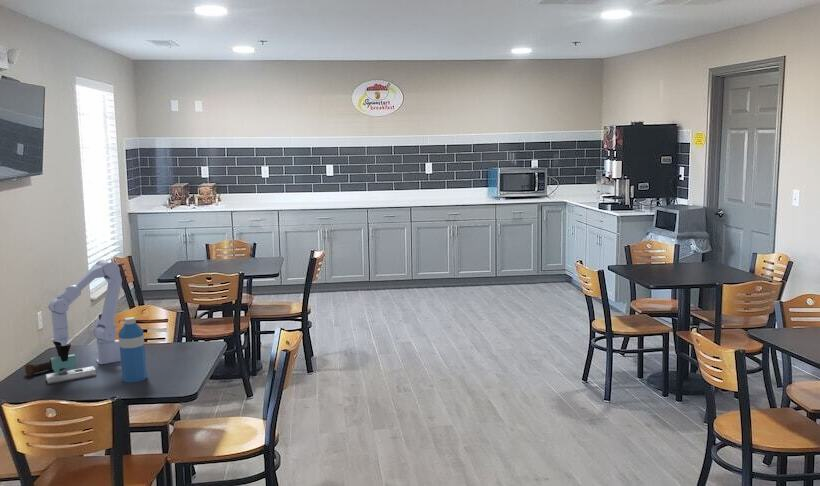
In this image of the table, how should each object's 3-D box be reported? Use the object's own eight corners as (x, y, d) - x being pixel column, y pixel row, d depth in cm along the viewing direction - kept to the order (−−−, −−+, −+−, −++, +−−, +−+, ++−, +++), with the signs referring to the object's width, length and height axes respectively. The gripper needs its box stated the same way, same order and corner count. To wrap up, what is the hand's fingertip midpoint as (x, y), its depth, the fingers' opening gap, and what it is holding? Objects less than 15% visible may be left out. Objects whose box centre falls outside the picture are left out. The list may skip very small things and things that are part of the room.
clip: (75, 369, 325) (74, 354, 324) (76, 370, 323) (75, 355, 322) (52, 373, 320) (51, 358, 320) (53, 374, 318) (51, 359, 317)
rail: (93, 371, 320) (93, 366, 320) (96, 375, 315) (95, 369, 315) (46, 380, 311) (45, 374, 310) (48, 384, 306) (47, 378, 305)
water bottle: (151, 376, 312) (147, 316, 308) (136, 383, 303) (131, 321, 300) (132, 374, 315) (128, 315, 311) (117, 381, 306) (112, 320, 303)
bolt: (65, 371, 329) (29, 379, 317) (59, 364, 331) (24, 371, 320) (67, 361, 326) (31, 368, 315) (62, 353, 329) (26, 361, 317)
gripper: (47, 325, 323) (50, 356, 325) (52, 332, 311) (55, 364, 313) (65, 322, 327) (68, 353, 329) (71, 329, 315) (73, 361, 316)
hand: (63, 359), depth 321 cm, fingers open, 7 cm apart
